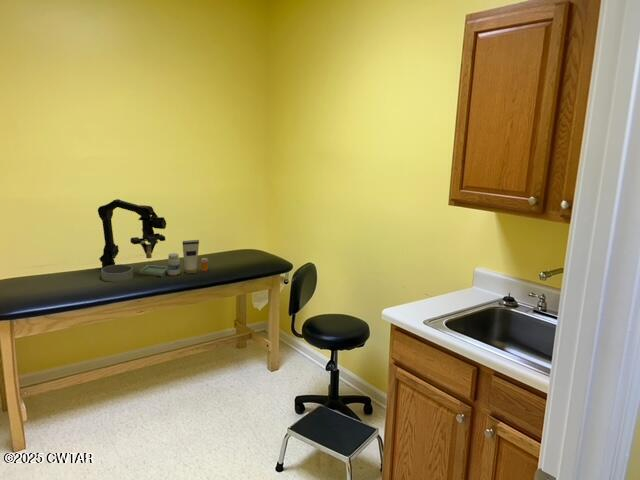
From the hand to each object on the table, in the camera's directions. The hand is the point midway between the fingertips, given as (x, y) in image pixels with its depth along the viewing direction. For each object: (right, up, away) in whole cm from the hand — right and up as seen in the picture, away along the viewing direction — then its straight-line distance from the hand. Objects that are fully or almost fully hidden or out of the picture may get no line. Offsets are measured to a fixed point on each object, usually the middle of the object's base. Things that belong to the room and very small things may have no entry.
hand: (148, 253), depth 267 cm
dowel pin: (0, -3, +1) cm, 3 cm away
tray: (+2, -12, +6) cm, 13 cm away
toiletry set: (+20, -12, +11) cm, 26 cm away
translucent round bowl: (-15, -14, -7) cm, 22 cm away
